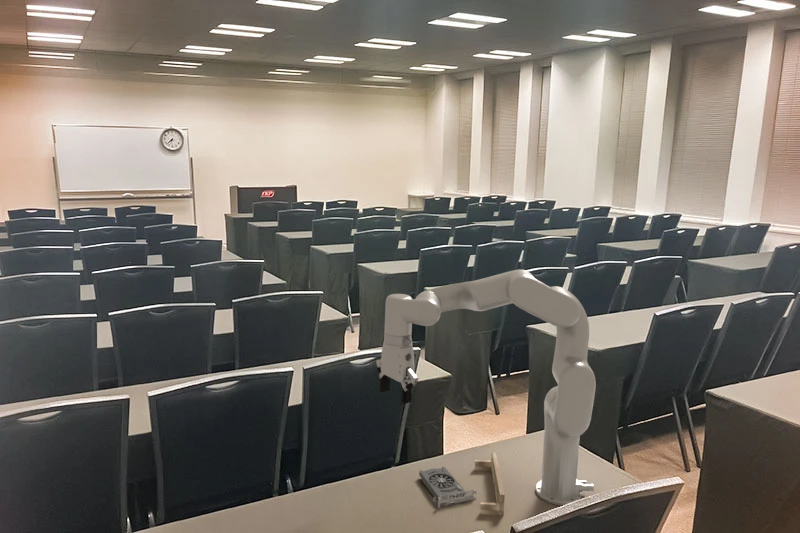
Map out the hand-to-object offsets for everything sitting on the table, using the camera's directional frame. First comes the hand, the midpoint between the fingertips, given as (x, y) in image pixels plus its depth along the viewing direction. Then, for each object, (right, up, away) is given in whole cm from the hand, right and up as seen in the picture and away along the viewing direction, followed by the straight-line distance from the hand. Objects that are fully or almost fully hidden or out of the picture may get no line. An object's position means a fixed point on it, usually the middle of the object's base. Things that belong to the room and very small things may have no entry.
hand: (395, 396), depth 160 cm
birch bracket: (+27, -28, +3) cm, 39 cm away
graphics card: (+15, -28, +4) cm, 32 cm away
